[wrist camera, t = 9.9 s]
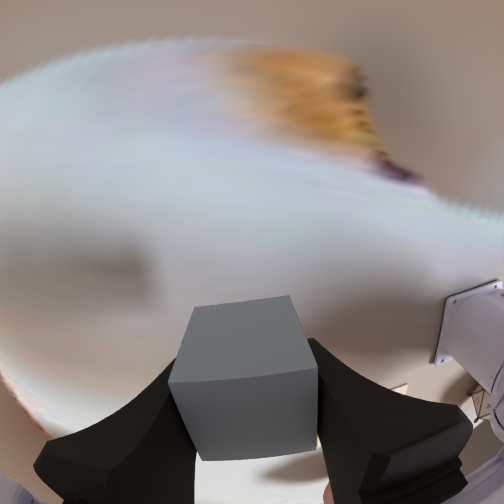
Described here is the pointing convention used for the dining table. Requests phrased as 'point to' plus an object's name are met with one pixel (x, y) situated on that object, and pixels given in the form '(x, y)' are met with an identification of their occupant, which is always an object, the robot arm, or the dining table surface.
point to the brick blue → (247, 381)
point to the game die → (481, 403)
